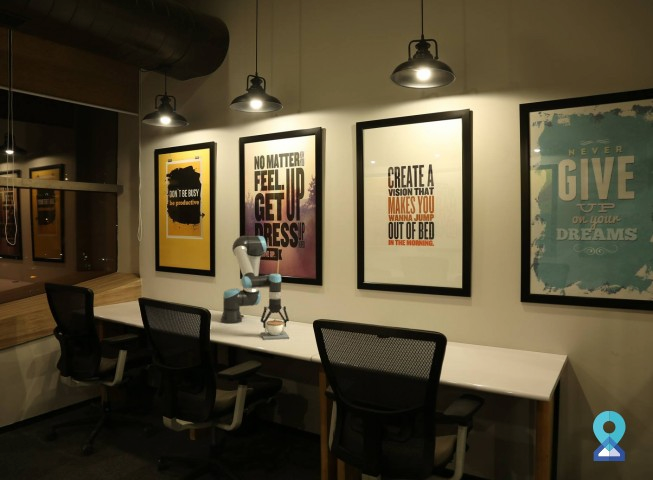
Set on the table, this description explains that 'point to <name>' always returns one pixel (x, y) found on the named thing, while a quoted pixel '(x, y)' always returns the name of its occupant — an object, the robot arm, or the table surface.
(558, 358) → the table surface
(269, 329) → the lidded jar
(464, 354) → the table surface
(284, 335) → the slate mat
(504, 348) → the table surface
